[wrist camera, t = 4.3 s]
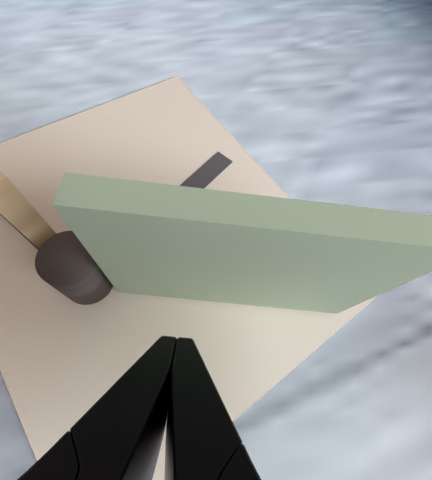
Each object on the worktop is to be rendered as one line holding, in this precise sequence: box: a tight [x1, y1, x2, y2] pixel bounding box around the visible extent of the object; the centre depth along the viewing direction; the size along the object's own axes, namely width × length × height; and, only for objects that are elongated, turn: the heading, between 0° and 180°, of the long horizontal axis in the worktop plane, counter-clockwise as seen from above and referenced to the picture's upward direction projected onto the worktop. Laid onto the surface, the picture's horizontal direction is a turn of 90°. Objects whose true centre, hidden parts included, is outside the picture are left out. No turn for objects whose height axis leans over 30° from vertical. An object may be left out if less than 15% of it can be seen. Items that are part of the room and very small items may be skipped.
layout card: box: [0, 76, 377, 480], centre depth 16 cm, size 17×20×1 cm
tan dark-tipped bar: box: [0, 171, 113, 305], centre depth 13 cm, size 11×2×6 cm, turn 50°
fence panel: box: [53, 172, 432, 314], centre depth 11 cm, size 11×1×8 cm, turn 86°
